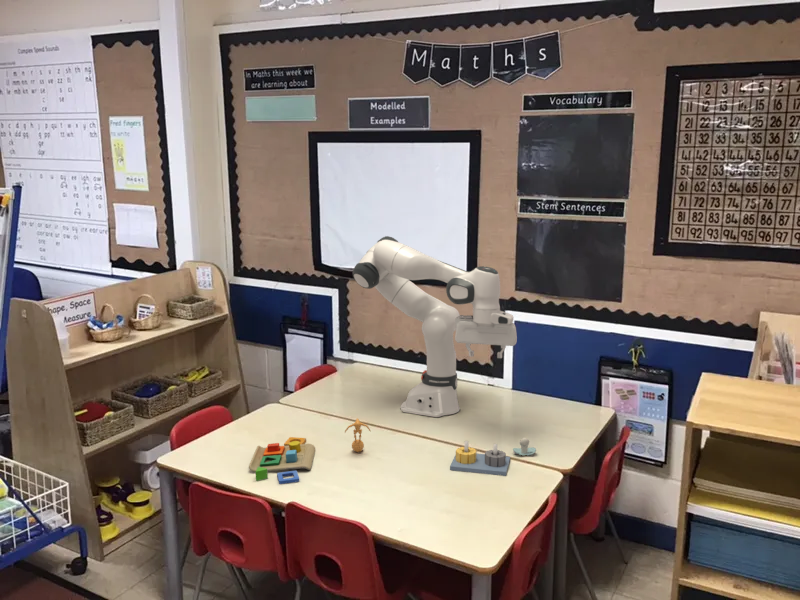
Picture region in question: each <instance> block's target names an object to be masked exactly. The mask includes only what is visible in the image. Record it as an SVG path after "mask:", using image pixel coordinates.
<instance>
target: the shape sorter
mask: <svg viewBox="0 0 800 600" xmlns="http://www.w3.org/2000/svg"><path fill="white" fill-rule="evenodd" d="M315 454H316V447H315V445H314V444H312V443H307V437H293V436H290V437H288V439H287V440H286V441H285V442H284V443H283V445H280V443H279V442H276V443H268V444H267V447H262V446H260V445H257V446H256V449H255V451H254V454H253V455H252V458H251V460H250V462H249V464H248V469H249V470H250V471H249V472H251V473H255V481H257V482H259V481H262V480H266V479H268V478H269V475H268V472H275V471H277V473H276V477H277V481H278V484H279V485H285V484H291V483H298V482H300V476H299V474H298V473H299V472H298V471H297V469H298V470H300V469H306V470H307V471H310V470H311V471H312V466H313V461H314V457H315ZM287 470H288V471H287ZM289 470H290V471H289ZM279 471H282V472H279ZM284 477H288V478H284Z"/></svg>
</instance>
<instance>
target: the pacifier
mask: <svg viewBox="0 0 800 600" xmlns="http://www.w3.org/2000/svg"><path fill="white" fill-rule="evenodd" d="M529 444H530V439H529V438H528V437H522V438H521V439H520V441H519V445H520V446H521V447H520V448H519V447H514V448H512V450H513V451H512V453H513V454H514V455H517V454H519V455H518V456H521V455H522V456H523V457H526V456H525V455H527V456H531V455H532V456H533V454H535V453H536V452H537V450H536V447H528V446H529ZM522 456H521V457H522Z"/></svg>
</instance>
